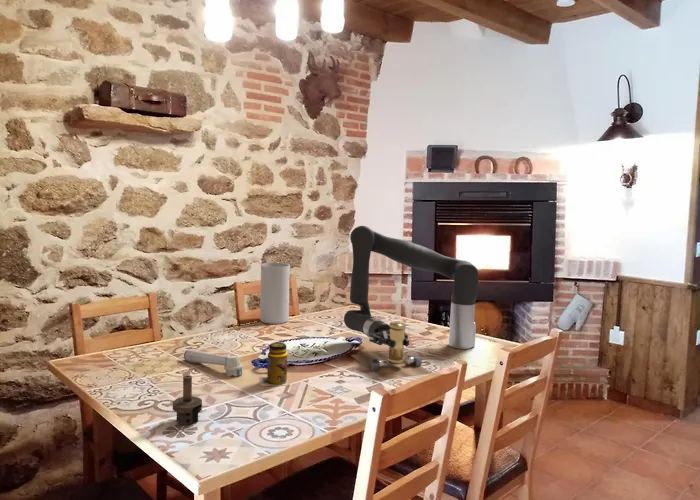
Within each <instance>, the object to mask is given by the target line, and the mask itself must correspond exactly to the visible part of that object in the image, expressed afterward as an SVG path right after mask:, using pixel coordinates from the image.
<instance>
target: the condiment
mask: <svg viewBox="0 0 700 500" xmlns="http://www.w3.org/2000/svg"><path fill="white" fill-rule="evenodd" d="M266 369H267V372H266V375H267V376H260V377H259V383H260V387H270V386H272V387H274V386H275V387H276V386H277V387H278V386H279V387H280V386H289V385H290V383H289V380H288V352H287V344H286V343H285V342H279V341H278V342H272V343H270V344H269V346H268V353H267V368H266Z"/></svg>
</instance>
